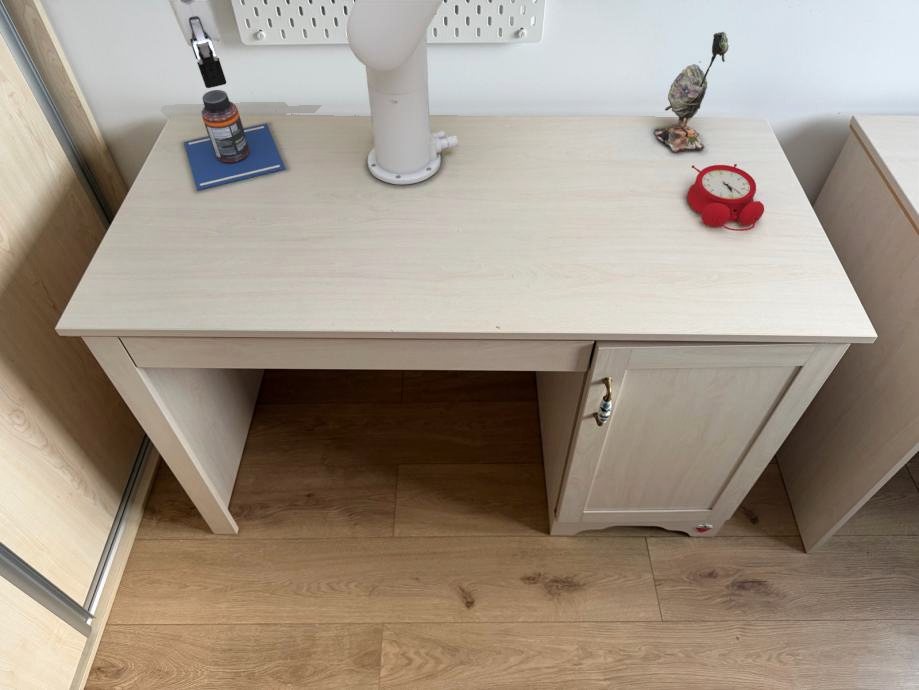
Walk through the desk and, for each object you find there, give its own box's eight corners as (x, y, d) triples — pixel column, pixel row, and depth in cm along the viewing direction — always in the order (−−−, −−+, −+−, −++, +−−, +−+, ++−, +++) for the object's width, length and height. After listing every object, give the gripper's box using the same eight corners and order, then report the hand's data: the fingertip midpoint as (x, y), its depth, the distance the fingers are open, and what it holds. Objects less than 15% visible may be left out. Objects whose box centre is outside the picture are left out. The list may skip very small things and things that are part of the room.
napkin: (266, 124, 125) (266, 123, 125) (285, 169, 116) (285, 167, 116) (184, 143, 122) (183, 141, 121) (197, 190, 113) (196, 189, 113)
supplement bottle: (223, 143, 121) (204, 84, 112) (254, 146, 120) (238, 87, 112) (210, 163, 117) (190, 104, 109) (243, 166, 117) (225, 106, 108)
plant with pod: (692, 119, 125) (724, 9, 110) (706, 155, 118) (742, 43, 103) (649, 119, 125) (674, 10, 110) (660, 155, 118) (689, 43, 103)
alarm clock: (745, 159, 111) (784, 198, 99) (736, 194, 115) (773, 236, 103) (682, 161, 111) (714, 201, 99) (676, 196, 115) (706, 239, 103)
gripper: (209, -29, 89) (245, 91, 103) (190, -72, 100) (225, 42, 113) (151, -18, 88) (195, 103, 101) (138, -62, 98) (179, 52, 111)
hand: (211, 71), depth 107 cm, fingers open, 9 cm apart
